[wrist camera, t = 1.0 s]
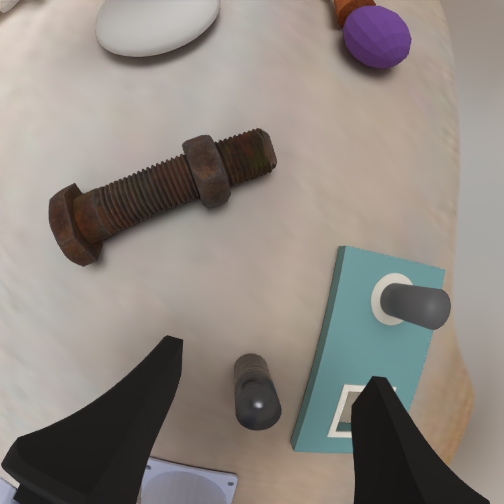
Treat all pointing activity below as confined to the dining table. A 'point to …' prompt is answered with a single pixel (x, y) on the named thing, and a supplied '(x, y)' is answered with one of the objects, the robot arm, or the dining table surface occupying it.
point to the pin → (255, 394)
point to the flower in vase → (152, 24)
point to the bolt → (157, 191)
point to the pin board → (368, 340)
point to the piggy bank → (7, 5)
